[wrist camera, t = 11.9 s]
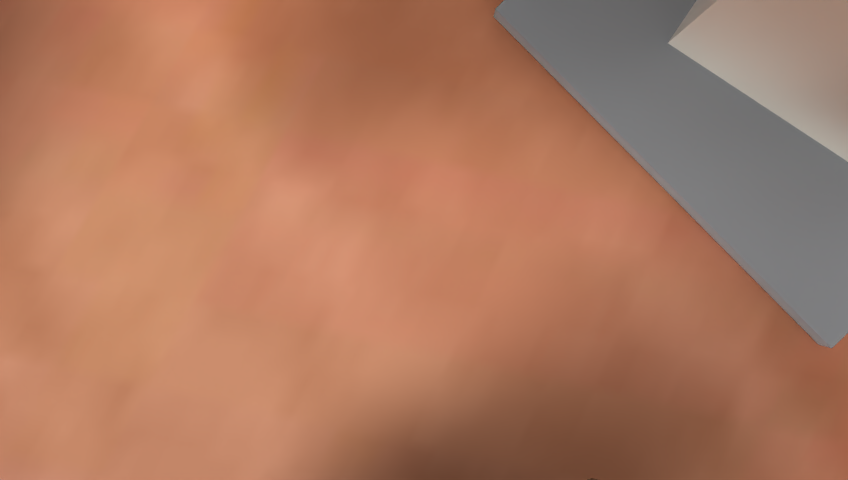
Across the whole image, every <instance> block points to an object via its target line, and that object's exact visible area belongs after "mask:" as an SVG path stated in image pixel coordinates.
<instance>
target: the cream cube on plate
mask: <svg viewBox="0 0 848 480" xmlns="http://www.w3.org/2000/svg"><path fill="white" fill-rule="evenodd" d="M668 44H670V45H671V46H673V47H674V48H676V49H677V50H679V51H680V52H682V53H683V54H685V55H686V56H688V57H689V58H691V59H692V60H694V61H696V62H697V63H699V64H700V65H702V66H703V67H705V68H706V69H708V70H709V71H711V72H712V73H714V74H715V75H717V76H718V77H720V78H721V79H723V80H724V81H726V82H727V83H729V84H730V85H732V86H733V87H735V88H737V89H738V90H740V91H741V92H743V93H744V94H746V95H747V96H749V97H750V98H752V99H753V100H755V101H756V102H758V103H759V104H761V105H762V106H764V107H765V108H767V109H768V110H770V111H771V112H773V113H774V114H776V115H778V116H779V117H781V118H782V119H784V120H785V121H787V122H788V123H790V124H791V125H793V126H794V127H796V128H797V129H799V130H800V131H802V132H803V133H805V134H806V135H808V136H809V137H811V138H812V139H814V140H815V141H817V142H819V143H820V144H822V145H823V146H825V147H826V148H828V149H829V150H831V151H832V152H834V153H835V154H837V155H838V156H840V157H841V158H843V159H844V160H846V161H847V162H848V0H696V2H695V3H694V5H693V6H692V8H691V9H690V11H689V12H688V14H687V15H686V17H685V18H684V20H683V21H682V23H681V24H680V26H679V27H678V28H677V30H676V31H675V33H674V34H673V36H672V37H671V39H670V40H669V42H668Z"/></svg>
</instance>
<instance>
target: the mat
mask: <svg viewBox="0 0 848 480" xmlns="http://www.w3.org/2000/svg"><path fill="white" fill-rule="evenodd" d="M695 2H696V0H504V1H503V2H502V3H501V4H500V5H499V6H498V7H497V8H496V9H495V13H494V18H495V19H496V20H497V21H498V22H499V23H500V24H501V25H502V26H503V27H504V28H505V29H506V30H507V31H508V32H509V33H510V34H511V35H512V36H513V37H514V38H515V39H516V40H517V41H518V42H519V43H520V44H521V45H522V46H523V47H524V48H525V49H526V50H527V51H528V52H529V53H530V54H531V55H532V56H533V57H534V58H535V59H536V60H537V61H538V62H539V63H540V64H541V65H542V66H543V67H544V68H545V69H546V70H547V71H548V72H549V73H550V74H551V75H552V76H553V77H554V78H555V79H556V80H557V81H558V82H559V83H560V84H561V85H562V86H563V87H564V88H565V89H566V90H567V91H568V92H569V93H570V94H571V95H572V96H573V97H574V98H575V99H576V100H577V101H578V102H579V103H580V104H581V105H582V106H583V107H584V108H585V109H586V110H587V111H588V112H589V114H590V115H591V116H592V117H593V118H594V119H595V120H596V121H597V122H598V123H599V124H600V125H601V126H602V127H603V128H604V129H605V130H606V131H607V132H608V133H609V134H610V135H611V136H612V137H613V138H614V139H615V140H616V141H617V142H618V143H619V144H620V145H621V146H622V147H623V148H624V149H625V150H626V151H627V152H628V153H629V154H630V155H631V156H632V157H633V158H634V159H635V160H636V161H637V162H638V163H639V164H640V165H641V166H642V167H643V168H644V169H645V170H646V171H647V172H648V173H649V174H650V175H651V176H652V177H653V178H654V179H655V180H656V181H657V182H658V183H659V184H660V185H661V186H662V187H663V188H664V189H665V190H666V191H667V192H668V193H669V194H670V195H671V196H672V197H673V198H674V199H675V200H676V201H677V202H678V203H679V204H680V205H681V206H682V207H683V208H684V209H685V210H686V211H687V212H688V213H689V214H690V215H691V216H692V217H693V218H694V219H695V220H696V221H697V222H698V223H699V224H700V225H701V226H702V228H703V229H704V230H705V231H706V232H707V233H708V234H709V235H710V236H711V237H712V238H713V239H714V240H715V241H716V242H717V243H718V244H719V245H720V246H721V247H722V248H723V249H724V250H725V251H726V252H727V253H728V254H729V255H730V256H731V257H732V258H733V259H734V260H735V261H736V262H737V263H738V264H739V265H740V266H741V267H742V268H743V269H744V270H745V271H746V272H747V273H748V274H749V275H750V276H751V277H752V278H753V279H754V280H755V281H756V282H757V283H758V284H759V285H760V286H761V287H762V288H763V289H764V290H765V291H766V292H767V293H768V294H769V295H770V296H771V297H772V298H773V299H774V300H775V301H776V302H777V303H778V304H779V305H780V306H781V307H782V308H783V309H784V310H785V311H786V312H787V313H788V314H789V315H790V316H791V317H792V318H793V319H794V320H795V321H796V322H797V323H798V324H799V325H800V326H801V327H802V328H803V329H804V330H805V331H806V332H807V333H808V334H809V335H810V336H811V337H812V338H813V339H814V341H815V342H816V343H817V344H818V345H822V346H826V347H829V348H833V347H834V346H835V345H836V344H837V343H838V342H839V341H840V340H841V339H842V338H843V337H844V336H845V335H846V334H847V333H848V162H847V161H846V160H844V159H843V158H841V157H840V156H838V155H837V154H835V153H834V152H832V151H831V150H829V149H828V148H826V147H825V146H823V145H822V144H820V143H819V142H817V141H815V140H814V139H812V138H811V137H809V136H808V135H806V134H805V133H803V132H802V131H800V130H799V129H797V128H796V127H794V126H793V125H791V124H790V123H788V122H787V121H785V120H784V119H782V118H781V117H779V116H778V115H776V114H774V113H773V112H771V111H770V110H768V109H767V108H765V107H764V106H762V105H761V104H759V103H758V102H756V101H755V100H753V99H752V98H750V97H749V96H747V95H746V94H744V93H743V92H741V91H740V90H738V89H737V88H735V87H733V86H732V85H730V84H729V83H727V82H726V81H724V80H723V79H721V78H720V77H718V76H717V75H715V74H714V73H712V72H711V71H709V70H708V69H706V68H705V67H703V66H702V65H700V64H699V63H697V62H696V61H694V60H692V59H691V58H689V57H688V56H686V55H685V54H683V53H682V52H680V51H679V50H677V49H676V48H674V47H673V46H671V45H670V44H668V42H669V40H670V39H671V37H672V36H673V34H674V33H675V31H676V30H677V28H678V27H679V26H680V24H681V23H682V21H683V20H684V18H685V17H686V15H687V14H688V12H689V11H690V9H691V8H692V6H693V5H694V3H695Z"/></svg>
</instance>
